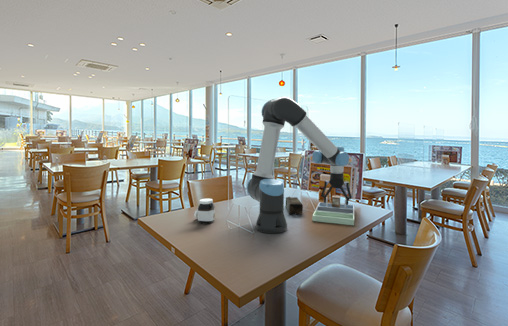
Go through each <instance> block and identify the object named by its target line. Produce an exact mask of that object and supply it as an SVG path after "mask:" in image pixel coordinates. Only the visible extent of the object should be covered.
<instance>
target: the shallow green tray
mask: <svg viewBox="0 0 508 326" xmlns="http://www.w3.org/2000/svg"><path fill="white" fill-rule="evenodd" d="M315 211H323V212H333V213H344V214H354V215H355V208H354V209H342V208H331V207H319V206H318V205H317V206H316V208H315V210H314V212H315Z"/></svg>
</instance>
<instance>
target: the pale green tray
mask: <svg viewBox="0 0 508 326" xmlns="http://www.w3.org/2000/svg"><path fill="white" fill-rule="evenodd" d="M312 222H317V223H318V222H320V223H329V224H337V225H347V226H355V213H354V214H344V213H333V212H323V211H315V210H314V212H313V214H312Z"/></svg>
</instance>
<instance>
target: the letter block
mask: <svg viewBox="0 0 508 326" xmlns="http://www.w3.org/2000/svg"><path fill="white" fill-rule="evenodd" d="M331 203H332V207H338V208H340V204H341V196H340V195H332V196H331Z"/></svg>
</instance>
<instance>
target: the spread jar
mask: <svg viewBox="0 0 508 326" xmlns="http://www.w3.org/2000/svg"><path fill="white" fill-rule="evenodd" d="M213 202H214V200H213V198H209V197H208V198H201V199H199V204H198V206H197V208H196V210H195V211H194V214H193V215H194V218H196V219H197V221H198V222H199V223H200V224H203V223H208V224H212V223H213V222H214V221H215V219H216V218H215V217H216V210H215V209H216V208H215V207H216V206H215V204H214V203H213ZM211 222H212V223H211Z"/></svg>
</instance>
